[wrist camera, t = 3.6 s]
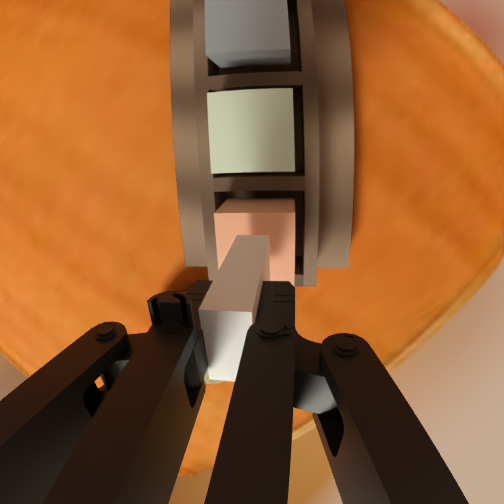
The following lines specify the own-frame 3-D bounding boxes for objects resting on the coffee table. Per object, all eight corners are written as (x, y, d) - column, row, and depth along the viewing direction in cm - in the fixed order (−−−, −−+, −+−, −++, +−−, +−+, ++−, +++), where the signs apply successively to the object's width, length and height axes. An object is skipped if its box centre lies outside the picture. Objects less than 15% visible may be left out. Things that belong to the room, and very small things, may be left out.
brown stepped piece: (182, -33, 16) (158, -62, 11) (332, -43, 15) (340, -78, 10) (195, 253, 25) (172, 284, 20) (343, 255, 24) (356, 287, 19)
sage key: (222, 100, 16) (206, 93, 13) (292, 96, 16) (292, 88, 13) (225, 166, 18) (211, 173, 15) (293, 164, 17) (294, 171, 14)
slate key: (219, 11, 14) (204, -11, 11) (286, 6, 14) (285, -18, 11) (221, 68, 16) (205, 55, 12) (290, 64, 15) (290, 49, 12)
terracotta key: (227, 198, 19) (213, 213, 15) (294, 197, 18) (295, 212, 15) (231, 260, 20) (219, 285, 17) (293, 260, 20) (294, 286, 16)
